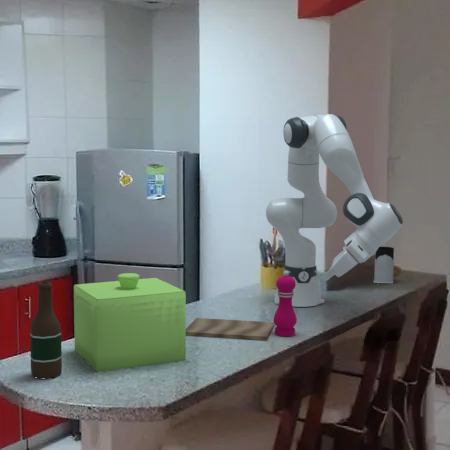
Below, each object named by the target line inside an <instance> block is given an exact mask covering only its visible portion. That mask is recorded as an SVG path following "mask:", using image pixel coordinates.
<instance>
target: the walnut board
mask: <svg viewBox="0 0 450 450" xmlns="http://www.w3.org/2000/svg"><path fill="white" fill-rule="evenodd" d="M273 329H275V323H274V321H257V320H240V319H239V320H238V319H222V318H206V317H205V318H204V317H203V318H202V317H195V319H194V320H193V321H192V322H191V323H190V324H189V325H188V326H187V327H186V337H187V336H188V337H202V338H203V337H204V338H219V339H235V340H249V341H250V340H251V341H252V340H253V341H268V339H269V338H270V336H271V333H272V332H273Z"/></svg>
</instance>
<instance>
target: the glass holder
mask: <svg viewBox="0 0 450 450" xmlns="http://www.w3.org/2000/svg"><path fill="white" fill-rule="evenodd" d="M394 253H395V248H394V247H391V246H380V247H379V248H378V249H377V251H376V252H375V255H374V256H375V257H374V275H373V276H374V277H373V278H374V279H373V281H372V283H373V282H374V283H393V282H394V266H395V265H394V263H395V258H394V257H395V256H394ZM374 283H373V284H374Z"/></svg>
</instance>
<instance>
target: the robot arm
mask: <svg viewBox="0 0 450 450" xmlns="http://www.w3.org/2000/svg"><path fill="white" fill-rule="evenodd" d="M347 130H348V129H347V123H346V121H345V119H344V118H343V117H342V116H341V115H337V114H331V113H327V114H313V115H306V116H305V115H304V116H301V117H299V116H295V117H292V118H289V119H287V121H286V122H285V123H284V126H283V139H284V142H285V144H286V145H287V146H288V155H287V157H288V159H287V183H288V184H289V186H290V187H292V188H293V189H295V190H297V191H299V192H301V193H302V194H303V197H282V198H276V199H272V200H271V201H269V203H268V204H267V206H266V209H265V217H266V219H267V222H268V223H269V225H270V226H271V227H273V228H274V229H276V231H277V232H278V233H279V235H280V237H282V238H281V239H282V240H283V244H284V254H285V255H284V257H285V258H284V259H285V263H284V266H283V272H284V271H288V272H289V275H288V276H291V277H292V278H294V280H295V283H296V286H295V288H294V289H293V292H294V293H293V295H294V296H293V297H292V306H293V307H297V308H298V307H299V308H300V307H302V308H305V307H307V308H308V307H315V306H318V305H320V304H324V303H325V299H324V298H321V281H320V279H318V277H317V271H318V269H317V265H316V258H317V255H316V253H317V247H316V244H315V243H314V241H312V240H311V239H310V238H307V237H306V236H304V235H302V234H301V233H300V229H321V228H328V227H331V226H332V225H334V224H335V222H336V220H337V217H338V209H337V206H336V205H335V203H334V202H333V200H331V199H330V198H329V197H328V196H327V195H326V194H325V193H324V191H323V189H322V187H321V184H320V171H319V170H320V158H321V160H322V162H323V163H324V164H325V166H326V167H327V168H328V169H329V171H331V172H332V173H333V174H334V175H335V176H336V177H337V178H338V179H339V180H340V181H341V182H342V183H343V184H344V185H345V187H346V188H347V190H348V191H349V193H350V195H349V196H348V197H347V198H346V199H345V201H344V203H343V206H342V212H343V213H342V214H343V215H344V217H345V219H346V220H347V221H348V222H349V223H351V224H352V225H353V226H355V228H356V229H355V230H354V231H353V232H352V233H351V234H350V235H349V236H347V237H346V239H344V240H343V241H344V242H343V243H344V246H343V247H342V249H343V250H342V251H340V252H339V253H338V254H337V255H336V256H335V257H333V260H332V264H331V266H330V267H329V269H328V270H327V271H326V272H324V274H323V276H322V278H323V280H324V281H326V282H327V281H329V280H330V279H331V278H332V277H333V276H336V277H337V278H340V277H342V276H343V275H345V274H346V273H348V272H349V271H350V270H352V269H353V268H354V267H356V266H357V265H358V264H362V263H365V262H366V261H367V260H369V259H370V258H371V257H372V256H373V255H374V254H376V251H377V249H378V248H379V247H382V245H384V244H386V243H387V242H388V241H389V240H391V239H392V237H394V235H396V234H397V232H398V231H399V230H400V229H401V227H402V226H403V222H404V221H403V217H402V215H401V213H400V212H399V211H398V209H397V207H395V206H394V205H393V204H392V203H389V202H382V201H379V200H376V198H375V196H374V195H373V192H372V190H371V188H370V186H369V184H368V182H367V179H366V178H365V175H364V173H363V169H362V167H361V164H360V162H359V159H358V156H357V152H356V150H355V146H354V143H353V142H352V139H351V137H350V134H349V132H348V131H347ZM275 288H276V290H277V291H279V290H278V288H277V286H276V285H275ZM273 297H274V299H273V300H274V301H273V302H274V303H273V304H274V305H275V304H277V305H279V296H278V292H275V293H274V296H273Z"/></svg>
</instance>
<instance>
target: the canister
mask: <svg viewBox="0 0 450 450" xmlns="http://www.w3.org/2000/svg"><path fill="white" fill-rule="evenodd" d="M140 276H141V275H140V274H138V273H134V272H132V273H131V272H130V273H129V272H126V273H120V274H118V275H117V279H118V280H115V281H114V280H113V281H103V282H89V283H80V284H74V285H73V314H74V315H73V324H74V329H73V330H74V352H75V351H76V352H75V353H76V354H77V355H79V356H80V357H81V359H83V360H84V359H85V360H86V361H87V362H88V363H89V364H90V365H91V366H92V367H91V366H90V365H89V366H90V367H91V368H92V369H93V370H94V371H96V372H97V373H100V372H99V371H102V372H107V371H106V370H109V371H114V370H115V369H116V370H121V369H122V368H123V369H129V368H135V367H136V366H138V367H144V366H150V365H151V366H152V365H157V364H166V363H170V362H172V363H173V362H179V361H185V360H186V337H187V336H186V328H187V327H186V318H187V317H186V316H187V315H186V311H187V308H186V302H187V301H186V300H187V299H186V298H187V297H186V296H187V294H186V291H185V290H183V289H181V288H179V287H177V286H174V285H173V284H171V283H168V282H166V281H163V280H161V279H159V278H157V277H151V278H150V277H149V278H140ZM85 360H84V361H85ZM86 361H85V362H86ZM87 362H86V363H87ZM88 363H87V364H88ZM136 368H137V367H136Z"/></svg>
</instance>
